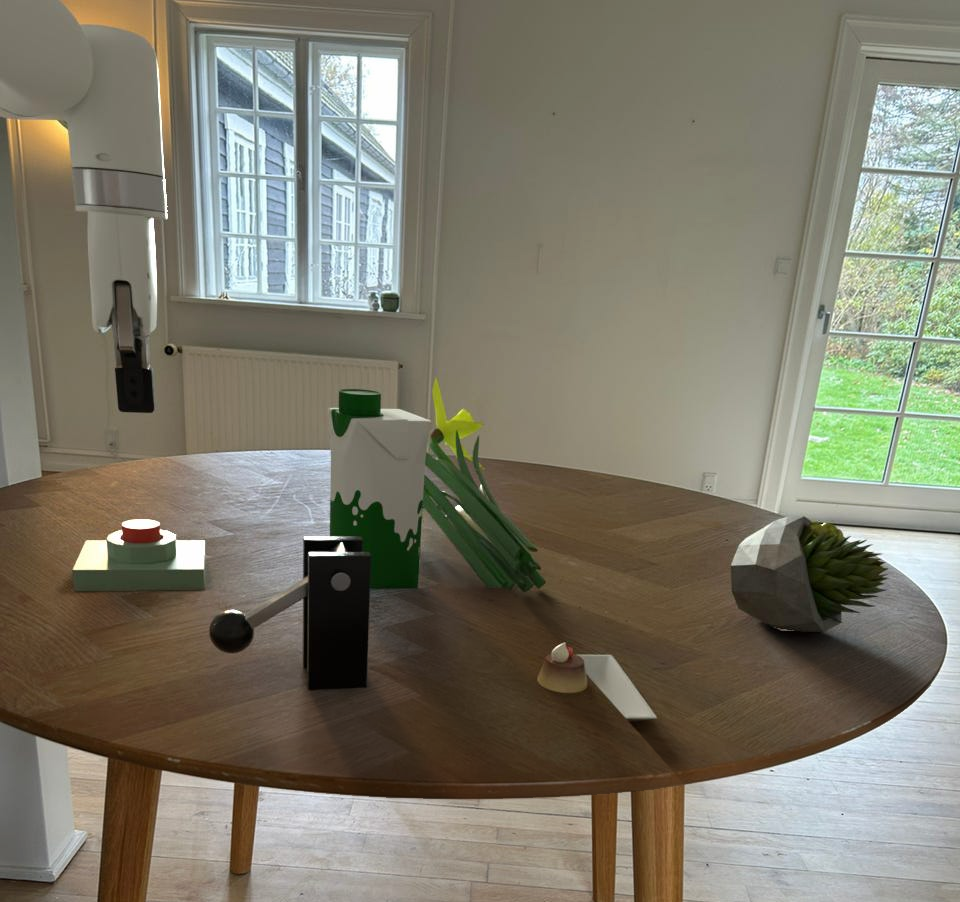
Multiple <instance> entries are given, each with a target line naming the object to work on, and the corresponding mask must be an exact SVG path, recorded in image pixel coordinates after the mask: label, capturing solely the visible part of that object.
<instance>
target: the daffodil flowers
mask: <svg viewBox="0 0 960 902" xmlns="http://www.w3.org/2000/svg"><path fill="white" fill-rule="evenodd" d="M431 390H432V401H433V407H434V412H435V425H436V426H435V427H436V428H433V429H432V430H431V431H430V433H429V439H428V446H429V449H430V450H431V452H432V453H433V455H434V456H435V457H433V455H432V454H430V453H428V452H427V451H426V458H425V467H427V468H428V469H429V470H430V471H431V472H432V473H433V474H434V475H435V476H436V477H437V478H438V479H439V480H440V481H442V482H443V484H445V486H446V487H448V489H449V490H450V491H451V492H453V494H455V496H454V495H453V494H452V493H449V492H447V491H444V490H440V489H439V487H438V486H437V485H436V483H434V482H433V481H432V480H431V479H430V478H429V477H428V476H427V475H426V474H424V490H423V508H422V510H423V509H425V511H426V512H427V513H428V515H429V516H430V518H429V519H430V520H433V521H434V522H435V523H436V524H437V526H438V527H439V529H440V530H441V531H442V532H443V534H444V535H445V536H446V538H447V539H448V540H449V542H450V543H451V544H452V545H453V546H454V548H455V549H456V550H457V551H458V552H459V554H460V555H461V557H463V559H464V560H465V561H466V563H467V564H468V565H469V566H470V568H471V569H472V570H473V572H474V573H475V574H476V575H477V577H478V579H480V580H481V582H482V583H483V585H484V586H485V587H486V588H489V589H490V588H510V590H511V589H513V588H514V587H515V586H516V585H517V586H518V588H519V589H520V590H521V591H522V592H523V593H526V592H528V591H530V590H531V589H533V587H534V586H535V588H536V589H538V590H539V589H541V588H542V587H543V586H544V585H545V584H546V582H547V581H546V579H545V578H544V577H543V576H542V575H541V573H540V572H539V571H541V570H542V568H541V567H542V566H541V565H540V564H539V563H538V562H537V560H536V559H535V557H533V555H532V554H531V553H530V552H533V553H537V552H538V551H539V550H538V548H537V547H535V545H534V544H533V543H532V542H531V541H530V540H529V539H528V538H527V537H526V535H524V533H522V531H521V530H520V529H519V528H518V527H517V526H516V525H515V524H514V523H513V522H512V521H511V519H509V518H508V517H507V516H506V515H505V514H504V513H503V511H501V508H500V507H499V505H498V503H497V502H496V499H495V498H494V496H493V494H492V492H491V490H490V488H489V486H488V485H487V482H486V480H485V477H484V475H483V473H482V471H481V469H482V470H485V468H484V466H483V465H482V464H481V463H479V448H480V447H479V446H480V435H479V434H478V435H477V438H476V440H475V442H474V445H473V449H472V453H471V454H472V455H471V454H470V453H469V452H468V451H467V450H466V448H465V447H464V446H463V444H462V443H461V439H464V438H466V437H468V436H470V435H472V434H473V433H476V432H477V431H478V430H480V429H481V428H483V427H484V425H485V424H484V423H482V422H480V421H475V419H473V417H474V416H473V415H471V412H468V409H466V408H462V409H461V410H460V411H459V412H458V413H457V414H456V415H455V416H453V417H452V418H451V419H450V420H447V413H446V410H445V406H444V401H443V396H442V393H441V388H440V385H439V381H438V379H437V376H435V377H434V382H433V385H432V389H431ZM442 442H444V445H445V446H446V447H447V446H449V448H450V449H451V451H452V453H453V454H454V456H455V457H456V459H457V463H458V466H459V468H458V467H457V465H456V464H455V463H454V462H453V461H452V460H451V458H450V457H449V456H448V455H447V454H446V452H444V450H443V449H442V448H441V447H440V445H439V444H440V443H442ZM465 458H466V459H468V461H470V462H472V466H473V468H474V471H475V472H476V476H477V477H478V480H479V481H480V486H479V487H478V485H477V484H476V482H475V480H474V478H473V476H472V475H471V471H470V470H469V467H468V464H467V461H466V459H465ZM448 498H449V499H451V500H453V501H454V502H455V503H456V504H457V506H454V505H453V504H452V502H451V501H450V500H449V499H448ZM422 523H423V525H424V526H426V524H425V517H424V514H423V513H422Z"/></svg>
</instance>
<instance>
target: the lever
mask: <svg viewBox="0 0 960 902" xmlns="http://www.w3.org/2000/svg"><path fill="white" fill-rule="evenodd" d="M327 552H348V551H347V549H346V548H345V546H344V545H343V543H340V544H338V545H337V546H335V547H333V548H332V549H330V550H328V551H327ZM307 596H308V576H307V577H306V578H304V579H303V578H302V579H301V580H298V581H297V582H295V583H294V584H292V585H291V586H288V587H287V588H286V589H284V590H281V592H279V593H277V594H276V595H274V596H273V597H271V598H269V599H268V600H266V601H263V602H262V603H261V604H259V605H258V606H256V607H254V608H252V609H251V610H249V611H248V612H245V613H244V612H241V611H239V610H235V609H230V610H223V611H222V612H220V613H218V614H217V615H216V616H215V617H214V618H213V619H212V621H211V622H210V625H209V630H208V631H209V632H208V633H209V638H210V641H211V642H212V645H213V647H215V648H216V649H218V650H219V651H221V652H223V653H225V654H237V653H241V652H243V651H244V650H246V649H247V648H248V647H249V646H250V645H251V644H252V642H253V640H254V637H255V628H257V627H258V626H260V625H263V624H264V623H265V622H267V621H269V620H270V619H272V618H273V617H275V616H277V615H279V614H281V613H282V612H283V611H285V610H287V609H288V608H290V607H293V606H294V605H295V604H297V603H299V602H301V601H303V598H305V597H307Z"/></svg>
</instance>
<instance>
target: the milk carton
mask: <svg viewBox="0 0 960 902" xmlns="http://www.w3.org/2000/svg"><path fill="white" fill-rule="evenodd" d="M327 417H328V418H327V419H328V433H329V446H330V447H329V448H330V478H329V479H330V481H329V482H330V485H329V486H330V488H329V490H330V491H329V537H361V538H362V540H363V552H369V553H370V555H371V575H370V590H403V589H404V590H406V589H407V590H411V589H414V590H415V589H416V590H417V589H419V578H420V563H421V562H420V560H421V559H420V558H421V542H422V540H421V539H422V526H423V525H422V523H423V520H422V514H423V490H424V475H425V472H426V465H425V458H426V452H427V451H428V446H429V436H430V433H431V428H432V427H431V426H432V420H430V419H428V418H425V417H422V416H419V415H417V414H414V413H412V412H408V411H406V410H404V409H401V408H382V393H381V392H380V391H376V390H371V389H363V388H362V389H361V388H343V389H340V390H338V407H328V408H327Z"/></svg>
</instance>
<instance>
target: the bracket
mask: <svg viewBox="0 0 960 902" xmlns="http://www.w3.org/2000/svg"><path fill="white" fill-rule="evenodd" d="M340 543H343V545H344V546H345V548H346V549H347V551H348V552H327V551H328V550H330V549H332V548H333V547H335V546H337V545H338V544H340ZM302 545H303V546H302V579H304V578H306V577H307V576H308V596H307V597H305V598H303V599H302V667H303V669H306V683H307V684H306V686H307V690H308V691H325V690H326V691H327V690H344V689H345V690H346V689H347V690H348V689H366V688H367V685H368V657H369V634H370V633H369V630H370V629H369V628H370V627H369V626H370V603H371V602H370V601H371V589H370V575H371V555H370V553H369V552H363V540H362V538H361V537H330V536H313V535H311V536H310V535H309V536H306V535H305V536H302Z"/></svg>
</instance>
